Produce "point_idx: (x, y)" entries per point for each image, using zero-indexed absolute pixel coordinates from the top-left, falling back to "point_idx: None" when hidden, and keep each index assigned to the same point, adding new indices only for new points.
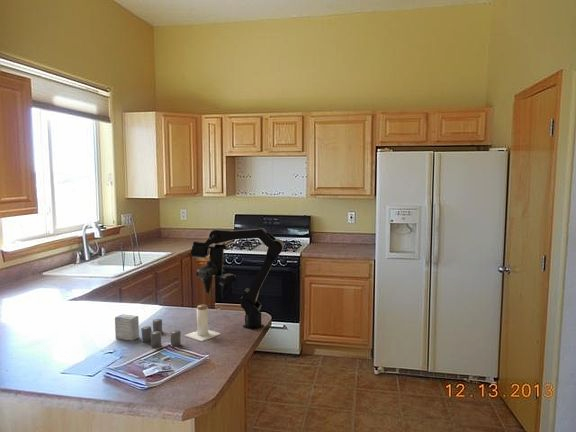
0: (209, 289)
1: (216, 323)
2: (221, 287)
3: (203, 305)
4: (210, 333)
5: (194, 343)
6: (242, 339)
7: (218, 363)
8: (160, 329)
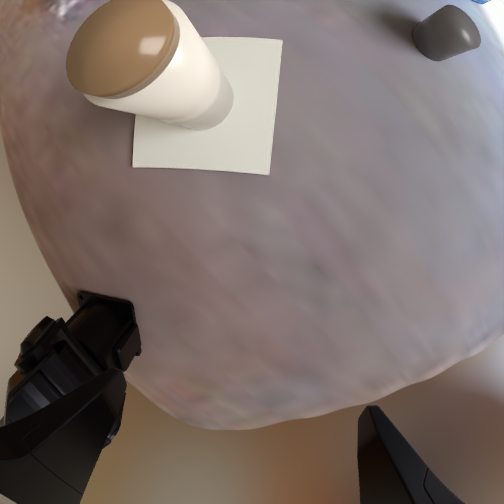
0: (360, 451)
1: (276, 284)
2: (35, 440)
3: (106, 57)
4: (174, 133)
5: None
6: (43, 185)
7: (21, 21)
8: (420, 28)
